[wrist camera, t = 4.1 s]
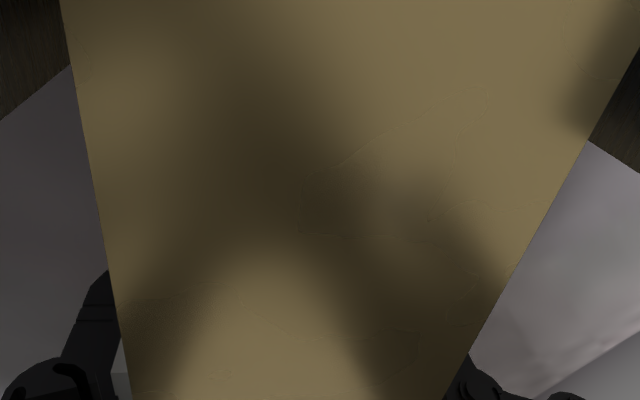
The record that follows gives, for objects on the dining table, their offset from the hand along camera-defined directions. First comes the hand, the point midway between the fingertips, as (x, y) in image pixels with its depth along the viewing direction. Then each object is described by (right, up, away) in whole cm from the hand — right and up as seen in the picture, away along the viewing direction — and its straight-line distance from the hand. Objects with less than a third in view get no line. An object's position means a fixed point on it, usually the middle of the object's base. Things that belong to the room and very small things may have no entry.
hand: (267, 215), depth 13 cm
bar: (+1, +5, -5) cm, 7 cm away
